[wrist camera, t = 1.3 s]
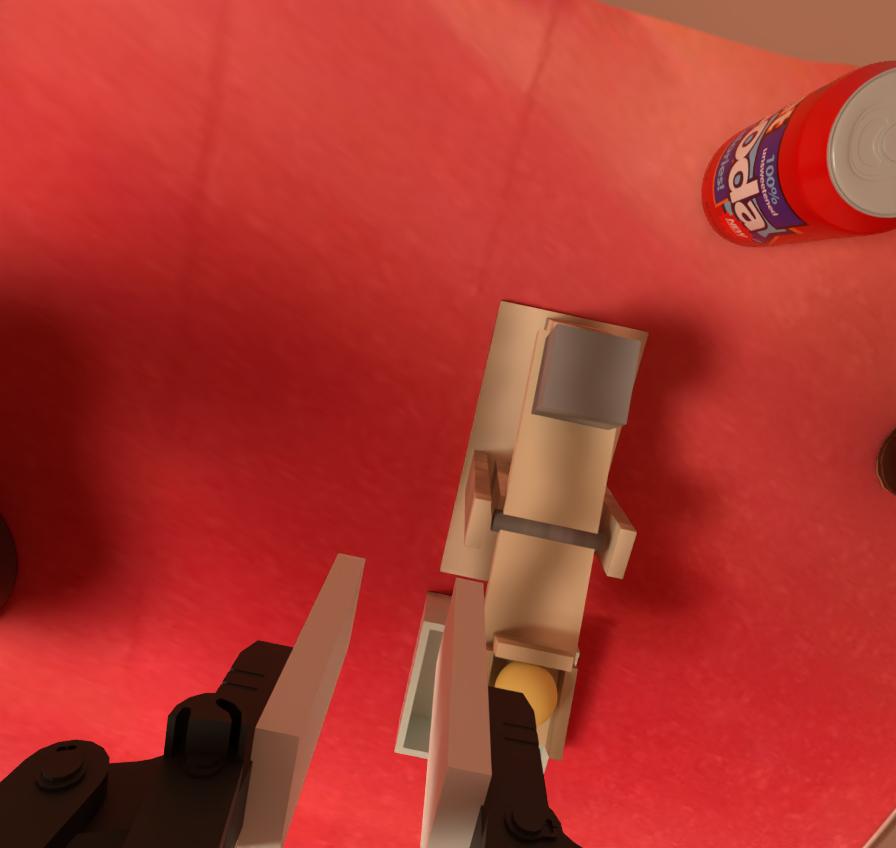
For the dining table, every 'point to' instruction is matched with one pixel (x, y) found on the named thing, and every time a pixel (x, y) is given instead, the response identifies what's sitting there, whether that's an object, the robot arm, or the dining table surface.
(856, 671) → the dining table surface
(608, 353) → the lever
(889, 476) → the coffee cup
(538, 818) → the robot arm
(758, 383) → the dining table surface
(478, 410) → the catapult base
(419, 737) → the shallow square tray
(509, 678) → the ball
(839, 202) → the soda can
